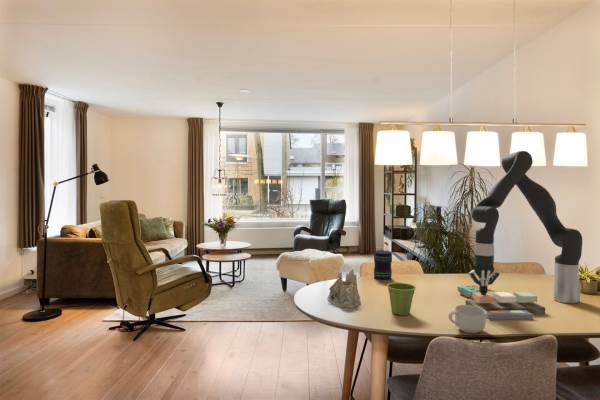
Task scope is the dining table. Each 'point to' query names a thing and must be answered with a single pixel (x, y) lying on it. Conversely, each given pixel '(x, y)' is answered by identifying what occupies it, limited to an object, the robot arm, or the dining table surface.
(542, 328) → the dining table surface
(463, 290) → the puzzle game
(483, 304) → the keypad base
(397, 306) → the plant pot
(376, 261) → the storage jar
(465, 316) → the teacup
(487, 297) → the key terracotta
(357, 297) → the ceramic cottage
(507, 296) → the key cream
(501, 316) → the card
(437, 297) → the dining table surface
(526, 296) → the key sage
